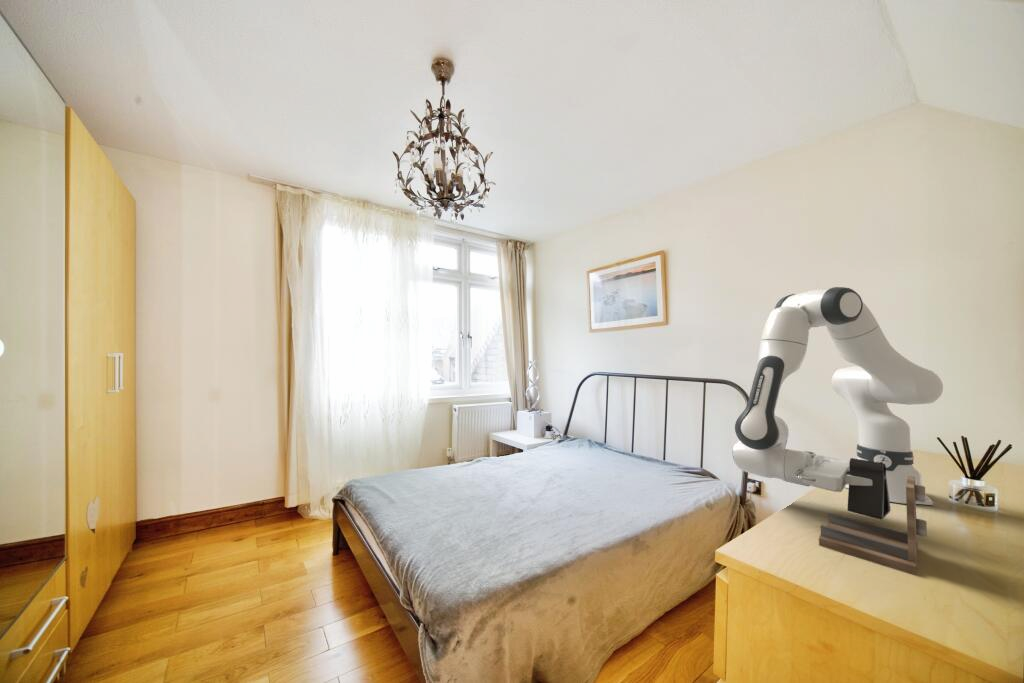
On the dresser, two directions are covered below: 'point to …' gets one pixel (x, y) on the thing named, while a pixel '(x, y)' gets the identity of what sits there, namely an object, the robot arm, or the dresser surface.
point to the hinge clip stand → (879, 535)
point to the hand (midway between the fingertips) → (873, 481)
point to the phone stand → (869, 489)
